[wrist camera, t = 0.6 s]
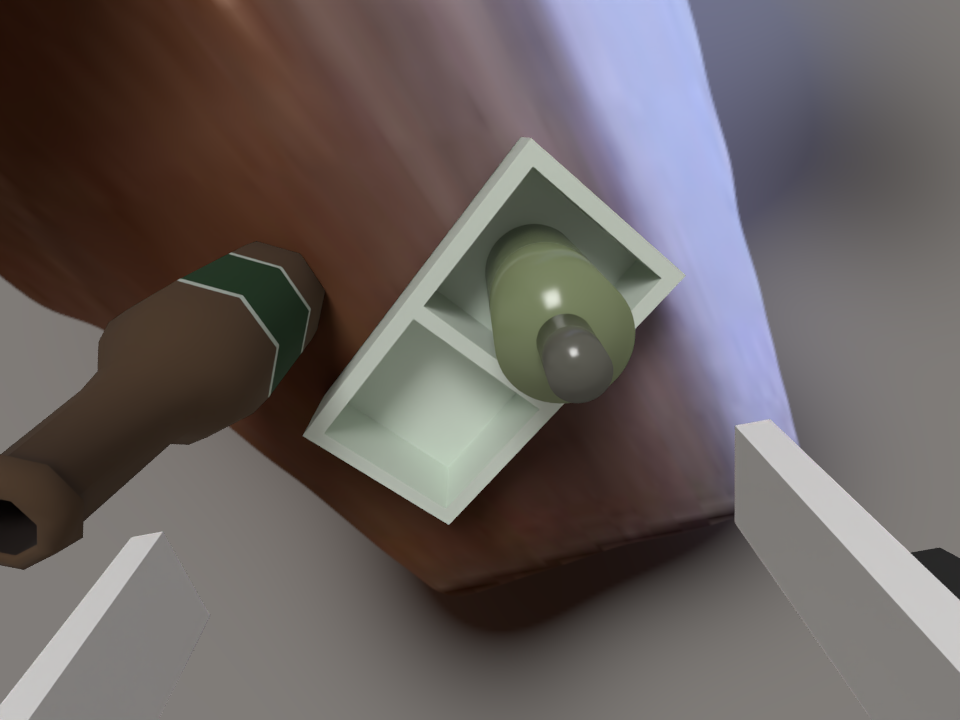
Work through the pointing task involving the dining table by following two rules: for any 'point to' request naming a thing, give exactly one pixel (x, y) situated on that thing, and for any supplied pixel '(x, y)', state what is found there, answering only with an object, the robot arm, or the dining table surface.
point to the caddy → (470, 343)
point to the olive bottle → (555, 317)
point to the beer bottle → (158, 391)
